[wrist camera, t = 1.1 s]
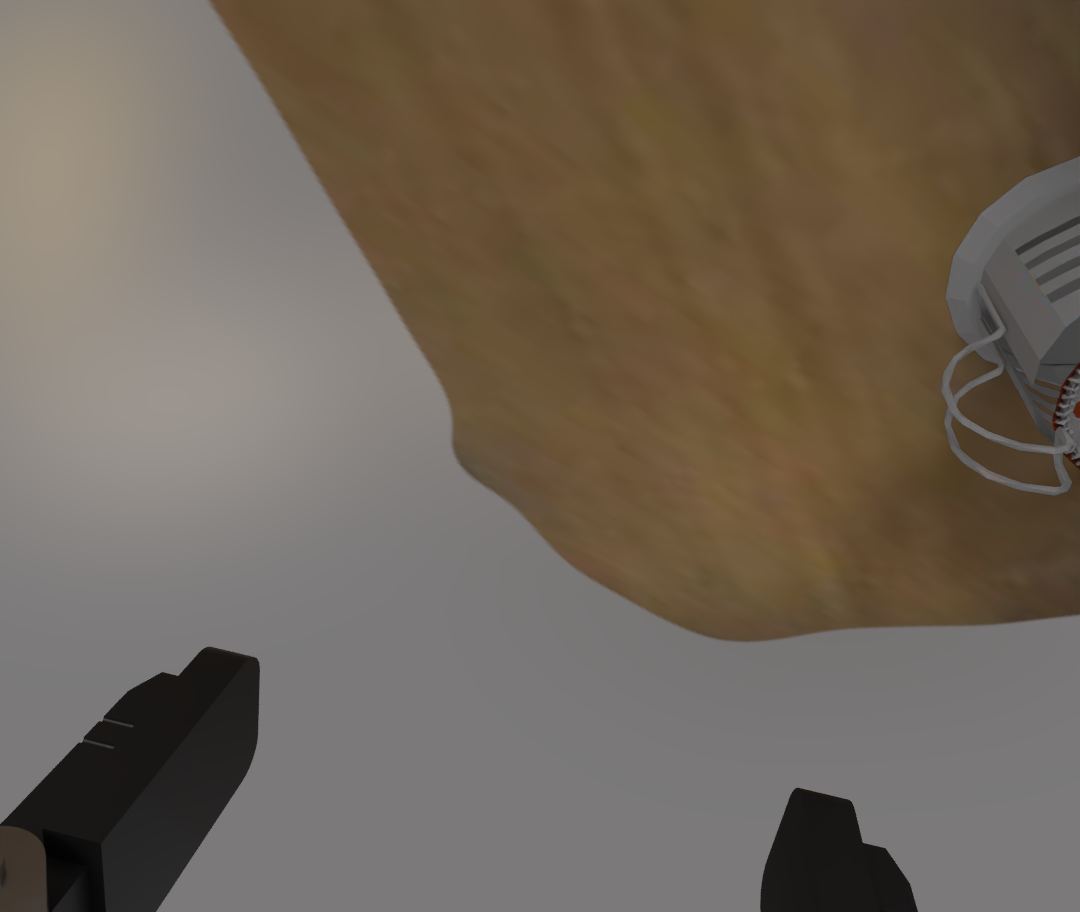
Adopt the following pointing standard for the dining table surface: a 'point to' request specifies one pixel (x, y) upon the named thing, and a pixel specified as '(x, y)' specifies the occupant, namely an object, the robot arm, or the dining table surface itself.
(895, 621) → the dining table surface
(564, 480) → the dining table surface
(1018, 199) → the french press
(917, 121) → the dining table surface
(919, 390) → the dining table surface
